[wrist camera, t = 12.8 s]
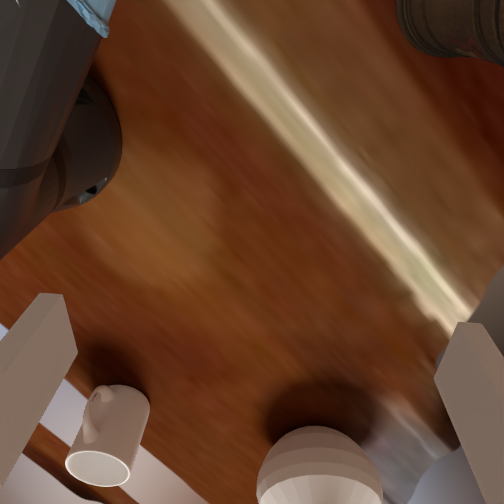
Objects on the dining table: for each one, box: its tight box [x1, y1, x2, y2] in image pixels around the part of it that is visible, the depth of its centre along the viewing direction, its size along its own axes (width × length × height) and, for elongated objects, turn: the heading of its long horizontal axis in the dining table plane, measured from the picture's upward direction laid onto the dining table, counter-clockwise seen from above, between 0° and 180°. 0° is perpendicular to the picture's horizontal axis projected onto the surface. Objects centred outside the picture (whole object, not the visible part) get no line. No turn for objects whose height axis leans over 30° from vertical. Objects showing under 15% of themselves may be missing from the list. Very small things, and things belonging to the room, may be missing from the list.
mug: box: [65, 385, 150, 487], centre depth 56 cm, size 9×12×11 cm
